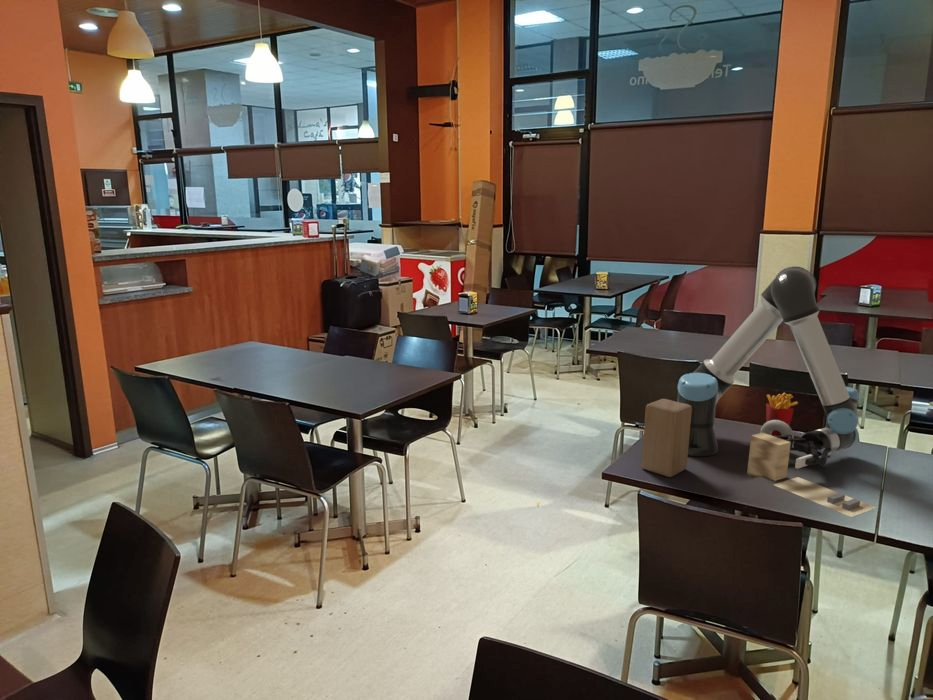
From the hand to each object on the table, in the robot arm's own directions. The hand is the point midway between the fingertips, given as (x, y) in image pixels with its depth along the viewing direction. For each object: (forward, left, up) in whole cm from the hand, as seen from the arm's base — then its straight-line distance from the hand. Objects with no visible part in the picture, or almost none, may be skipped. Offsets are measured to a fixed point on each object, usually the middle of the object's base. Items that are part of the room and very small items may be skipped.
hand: (774, 455), depth 193 cm
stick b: (+24, -2, -5) cm, 24 cm away
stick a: (+20, -2, -5) cm, 20 cm away
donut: (-14, +20, -7) cm, 26 cm away
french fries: (-22, +34, -7) cm, 41 cm away
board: (+16, -2, -7) cm, 18 cm away
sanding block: (-1, -2, -7) cm, 7 cm away
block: (-20, -23, -7) cm, 31 cm away
